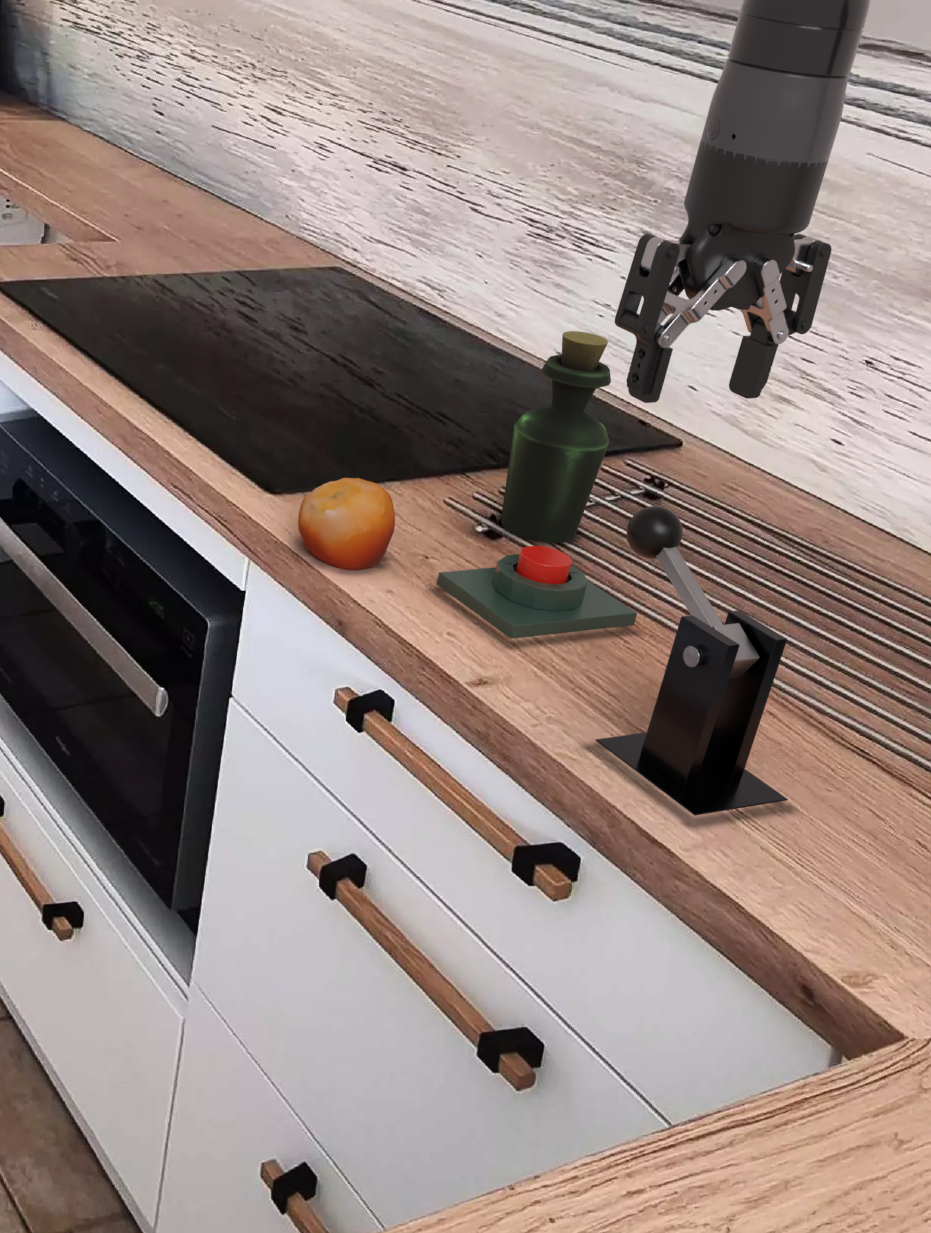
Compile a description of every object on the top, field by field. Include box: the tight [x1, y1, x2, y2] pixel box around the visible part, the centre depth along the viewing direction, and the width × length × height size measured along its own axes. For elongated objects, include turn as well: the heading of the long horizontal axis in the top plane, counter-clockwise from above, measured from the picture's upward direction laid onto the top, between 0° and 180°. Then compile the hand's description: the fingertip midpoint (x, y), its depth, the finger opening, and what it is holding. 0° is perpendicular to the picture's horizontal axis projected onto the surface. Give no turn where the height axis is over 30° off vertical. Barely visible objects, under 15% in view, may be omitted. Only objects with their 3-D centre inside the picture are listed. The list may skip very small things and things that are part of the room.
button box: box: [436, 553, 638, 640], centre depth 142 cm, size 12×10×4 cm
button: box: [516, 545, 573, 584], centre depth 141 cm, size 4×4×2 cm
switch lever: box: [626, 505, 760, 679], centre depth 119 cm, size 13×4×4 cm
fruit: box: [297, 477, 396, 571], centre depth 148 cm, size 8×8×8 cm
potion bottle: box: [500, 330, 612, 544], centre depth 155 cm, size 8×8×18 cm
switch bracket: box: [595, 609, 789, 816], centre depth 118 cm, size 10×8×12 cm
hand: (693, 396), depth 116 cm, fingers open, 8 cm apart
